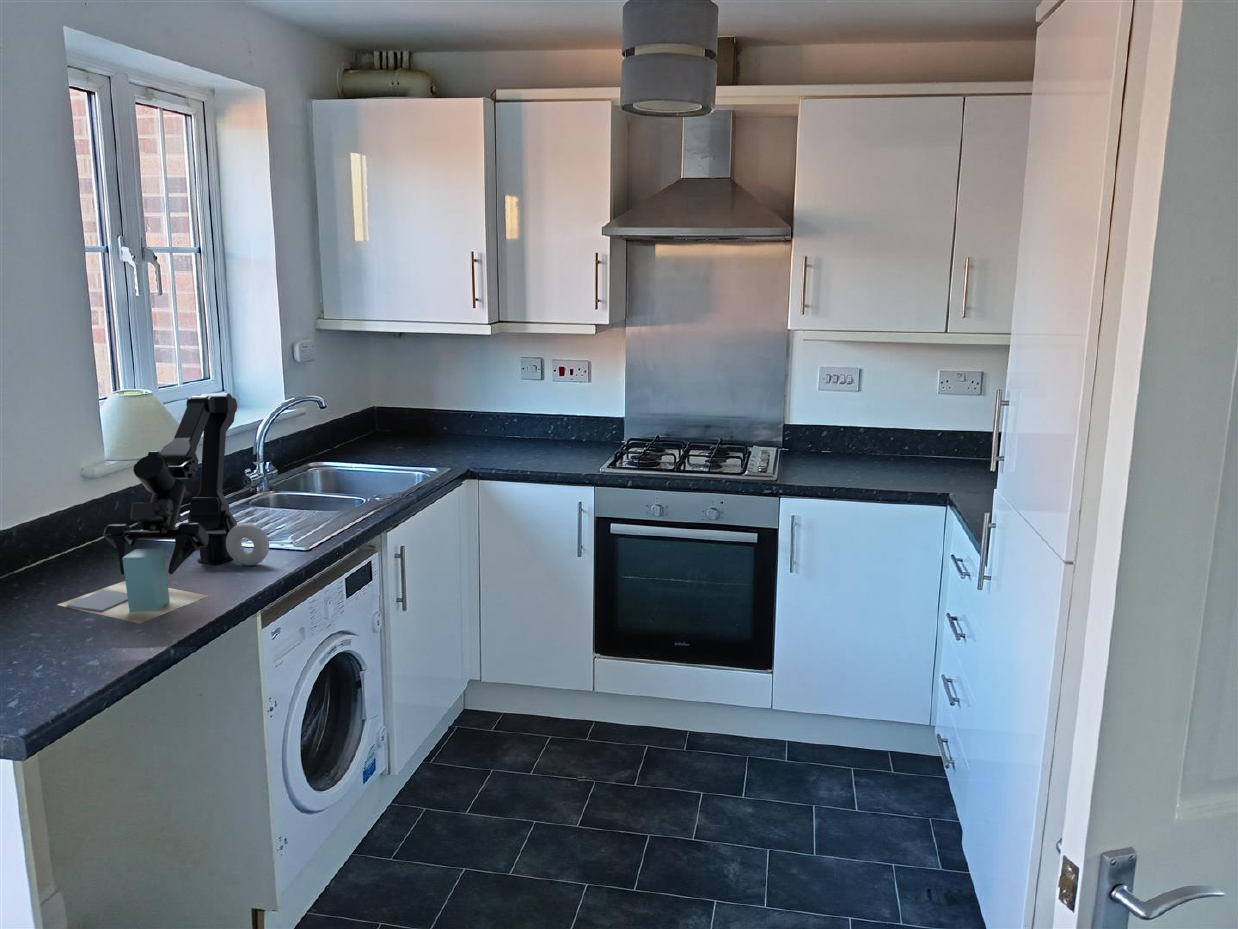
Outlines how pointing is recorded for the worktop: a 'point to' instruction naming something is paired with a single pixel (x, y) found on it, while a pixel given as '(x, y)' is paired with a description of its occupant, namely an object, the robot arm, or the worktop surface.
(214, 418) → the robot arm
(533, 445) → the worktop surface
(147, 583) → the tall teal block
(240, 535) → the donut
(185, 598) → the board
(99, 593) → the coaster
